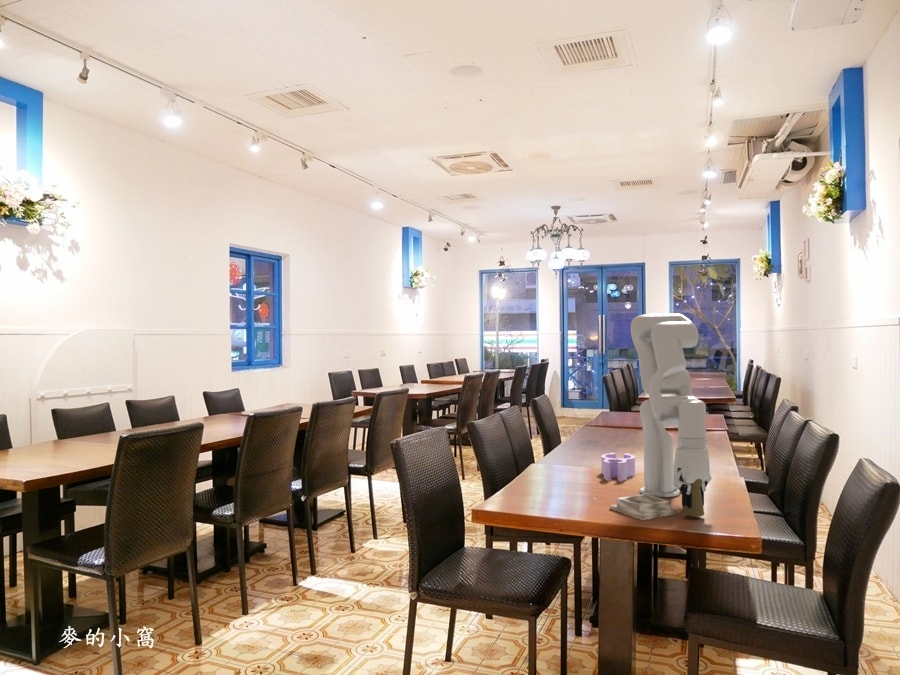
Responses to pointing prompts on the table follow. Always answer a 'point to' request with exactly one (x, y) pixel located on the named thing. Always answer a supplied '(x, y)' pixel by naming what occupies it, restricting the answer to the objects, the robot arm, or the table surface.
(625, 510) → the socket board
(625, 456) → the clip
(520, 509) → the table surface
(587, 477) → the table surface
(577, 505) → the table surface
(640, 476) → the table surface
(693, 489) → the cork
